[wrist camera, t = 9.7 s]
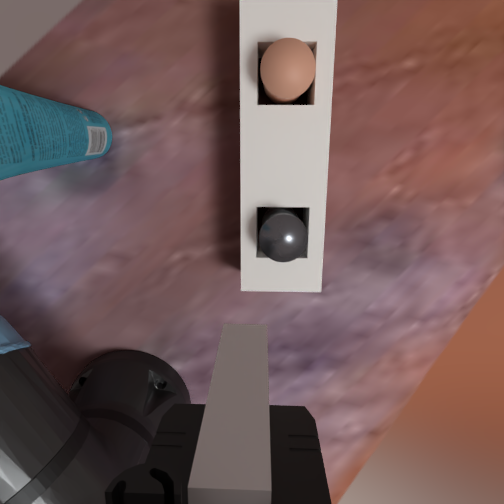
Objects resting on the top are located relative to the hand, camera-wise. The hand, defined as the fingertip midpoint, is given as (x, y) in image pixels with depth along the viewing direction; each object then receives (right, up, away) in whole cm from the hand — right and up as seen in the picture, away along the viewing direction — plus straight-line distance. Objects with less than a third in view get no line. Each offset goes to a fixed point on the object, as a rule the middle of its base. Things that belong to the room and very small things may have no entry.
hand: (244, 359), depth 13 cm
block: (+3, +14, +27) cm, 30 cm away
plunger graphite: (+3, +7, +28) cm, 29 cm away
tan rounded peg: (+3, +20, +24) cm, 32 cm away
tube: (-17, +16, +27) cm, 36 cm away
